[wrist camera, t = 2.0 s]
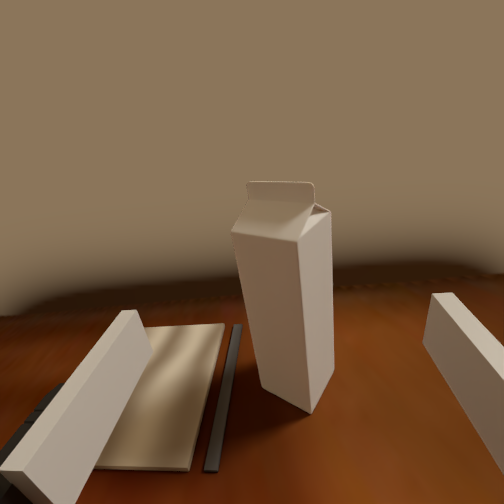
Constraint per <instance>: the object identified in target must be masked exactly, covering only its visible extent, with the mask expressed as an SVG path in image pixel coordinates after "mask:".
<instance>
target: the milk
mask: <svg viewBox="0 0 504 504" xmlns="http://www.w3.org/2000/svg"><path fill="white" fill-rule="evenodd" d="M247 192H248V201H247V203H246V205H245V207H244V209H243V210H242V212H241V214H240V216H239V218H238V219H237V221H236V223H235V224H234V227H233V228H232V230H231V236H232V241H233V246H234V251H235V256H236V261H237V266H238V271H239V276H240V281H241V286H242V291H243V296H244V301H245V306H246V311H247V316H248V321H249V326H250V331H251V336H252V341H253V346H254V351H255V356H256V361H257V366H258V371H259V376H260V381H261V386H262V388H264V389H265V390H267V391H269V392H271V393H273V394H275V395H276V396H278V397H280V398H282V399H284V400H286V401H287V402H289V403H291V404H293V405H295V406H296V407H298V408H300V409H302V410H304V411H306V412H307V413H309V414H312V412H313V410H314V408H315V406H316V404H317V403H318V401H319V399H320V397H321V395H322V393H323V391H324V389H325V387H326V385H327V383H328V381H329V379H330V377H331V375H332V374H333V372H334V333H333V285H332V284H333V283H332V237H331V236H332V235H331V211H329V210H327V209H325V208H323V207H321V206H320V205H318V204H316V203H315V191H314V185H313V184H312V183H311V182H268V181H249V182H248V183H247Z"/></svg>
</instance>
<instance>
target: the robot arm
mask: <svg viewBox="0 0 504 504" xmlns="http://www.w3.org/2000/svg"><path fill="white" fill-rule="evenodd" d="M423 345H424V346H425V348H426V349H427V351H428V353H429V354H430V356H431V358H432V359H433V361H434V362H435V364H436V366H437V367H438V369H439V371H440V372H441V374H442V376H443V377H444V379H445V380H446V382H447V384H448V385H449V387H450V389H451V390H452V392H453V393H454V395H455V397H456V398H457V400H458V402H459V403H460V405H461V406H462V408H463V410H464V411H465V413H466V415H467V416H468V418H469V419H470V421H471V423H472V424H473V426H474V428H475V429H476V431H477V432H478V434H479V436H480V437H481V439H482V441H483V442H484V444H485V445H486V447H487V449H488V450H489V452H490V454H491V455H492V457H493V458H494V460H495V462H496V463H497V465H498V467H499V468H500V470H501V471H502V473H503V475H504V347H503V346H502V345H501V344H500V343H499V342H498V341H497V340H496V338H495V337H494V336H493V335H492V334H491V333H490V332H489V331H488V330H487V329H486V328H485V327H484V326H483V325H482V324H481V323H480V322H479V320H478V319H477V318H476V317H475V316H474V315H473V314H472V313H471V312H470V311H469V310H468V309H467V308H466V307H465V306H464V305H463V304H462V303H461V301H460V300H459V299H458V298H457V297H456V296H455V295H454V294H453V293H436V294H432V296H431V302H430V307H429V312H428V317H427V322H426V327H425V333H424V338H423ZM152 353H153V349H152V347H151V344H150V342H149V339H148V337H147V334H146V332H145V330H144V327H143V325H142V322H141V320H140V317H139V315H138V312H137V310H125V311H121V312H120V314H119V315H118V316H117V317H116V319H115V320H114V321H113V323H112V324H111V325H110V326H109V328H108V329H107V330H106V332H105V333H104V334H103V335H102V337H101V338H100V339H99V341H98V342H97V343H96V344H95V346H94V347H93V348H92V350H91V351H90V352H89V353H88V355H87V356H86V357H85V359H84V360H83V361H82V362H81V364H80V365H79V366H78V368H77V369H76V370H75V371H74V373H73V374H72V375H71V377H70V378H69V379H68V380H67V382H66V383H60V384H59V385H57V386H56V387H55V388H54V389H53V390H51V391H50V392H49V393H48V394H47V395H45V397H44V398H43V399H42V400H41V401H40V403H39V404H38V405H37V406H36V408H35V409H34V412H32V413H31V414H30V415H29V416H28V417H27V419H26V420H25V421H24V424H22V425H21V426H20V427H19V428H18V430H17V431H16V432H15V433H14V435H13V436H12V437H11V438H10V440H9V441H8V442H7V443H6V444H5V446H4V447H3V448H2V449H1V451H0V504H75V503H76V501H77V499H78V497H79V495H80V493H81V491H82V489H83V487H84V485H85V483H86V481H87V479H88V477H89V475H90V474H91V472H92V470H93V468H94V466H95V464H96V462H97V460H98V458H99V456H100V454H101V452H102V450H103V448H104V446H105V444H106V443H107V441H108V439H109V437H110V435H111V433H112V431H113V429H114V427H115V425H116V423H117V421H118V419H119V417H120V415H121V413H122V412H123V410H124V408H125V406H126V404H127V402H128V400H129V398H130V396H131V394H132V392H133V390H134V388H135V386H136V384H137V382H138V381H139V379H140V377H141V375H142V373H143V371H144V369H145V367H146V365H147V363H148V361H149V359H150V357H151V355H152Z"/></svg>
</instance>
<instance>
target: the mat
mask: <svg viewBox="0 0 504 504" xmlns="http://www.w3.org/2000/svg"><path fill="white" fill-rule="evenodd" d="M242 326H243V325H242V324H234V327H233V332H232V337H231V341H230V346H229V351H228V356H227V361H226V365H225V370H224V375H223V380H222V385H221V389H220V394H219V399H218V404H217V409H216V414H215V418H214V423H213V428H212V433H211V438H210V442H209V447H208V452H207V457H206V462H205V466H204V472H218V469H219V463H220V457H221V451H222V445H223V439H224V433H225V427H226V421H227V415H228V409H229V403H230V397H231V391H232V385H233V379H234V374H235V368H236V362H237V356H238V350H239V344H240V338H241V332H242ZM224 329H225V325H224V323H223V324H204V325H186V326H168V327H149V328H144V330H145V332H146V334H147V337H148V339H149V342H150V344H151V347H152V349H153V353H152V355H151V357H150V359H149V361H148V363H147V365H146V367H145V369H144V371H143V373H142V375H141V377H140V379H139V381H138V382H137V384H136V386H135V388H134V390H133V392H132V394H131V396H130V398H129V400H128V402H127V404H126V406H125V408H124V410H123V412H122V413H121V415H120V417H119V419H118V421H117V423H116V425H115V427H114V429H113V431H112V433H111V435H110V437H109V439H108V441H107V443H106V444H105V446H104V448H103V450H102V452H101V454H100V456H99V458H98V460H97V462H96V464H95V466H94V468H93V469H119V470H157V471H189V470H190V466H191V462H192V458H193V454H194V450H195V446H196V442H197V438H198V434H199V430H200V426H201V421H202V417H203V413H204V409H205V405H206V401H207V397H208V393H209V389H210V385H211V381H212V377H213V373H214V369H215V365H216V361H217V357H218V353H219V349H220V345H221V341H222V337H223V333H224Z"/></svg>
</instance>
